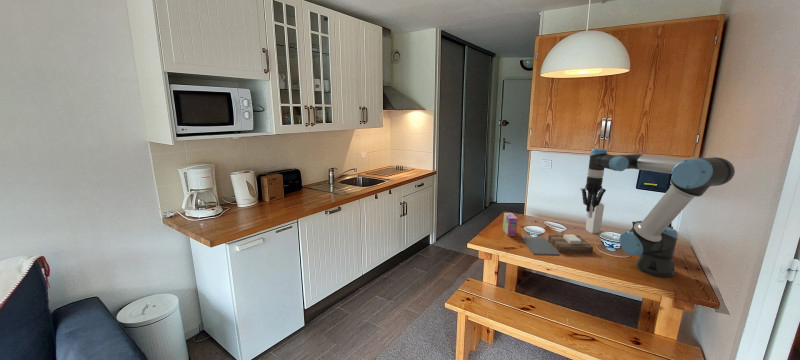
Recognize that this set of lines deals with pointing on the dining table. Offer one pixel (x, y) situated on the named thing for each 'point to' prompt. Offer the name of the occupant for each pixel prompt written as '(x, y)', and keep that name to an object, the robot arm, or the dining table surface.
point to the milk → (595, 219)
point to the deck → (569, 245)
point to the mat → (540, 246)
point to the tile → (571, 239)
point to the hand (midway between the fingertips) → (589, 216)
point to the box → (510, 224)
